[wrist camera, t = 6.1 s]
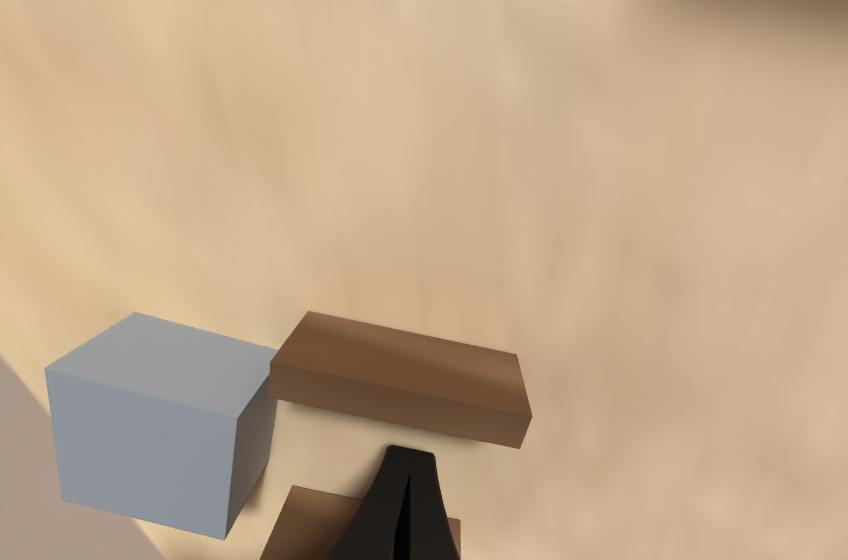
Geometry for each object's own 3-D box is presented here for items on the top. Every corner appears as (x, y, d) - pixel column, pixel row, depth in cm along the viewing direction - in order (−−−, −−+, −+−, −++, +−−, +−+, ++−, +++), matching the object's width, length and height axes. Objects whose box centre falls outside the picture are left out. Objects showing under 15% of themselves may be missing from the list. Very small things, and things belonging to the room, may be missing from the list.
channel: (454, 538, 14) (453, 619, 12) (290, 505, 14) (258, 580, 12) (516, 354, 11) (532, 416, 9) (308, 311, 11) (270, 361, 9)
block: (271, 455, 14) (224, 540, 11) (142, 422, 14) (62, 500, 11) (287, 348, 12) (237, 418, 9) (140, 308, 12) (44, 367, 9)
